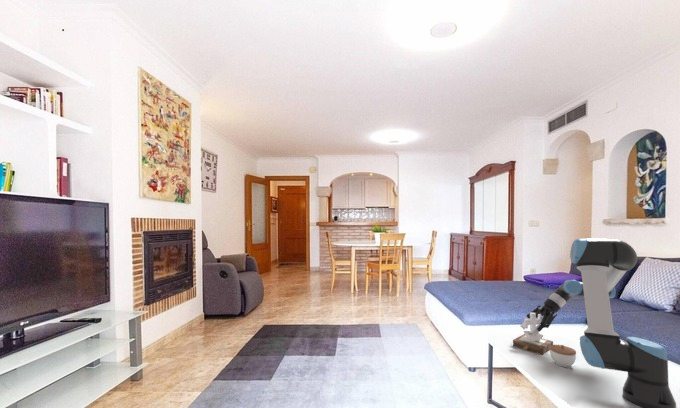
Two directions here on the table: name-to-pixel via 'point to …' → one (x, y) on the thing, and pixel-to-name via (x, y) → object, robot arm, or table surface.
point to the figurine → (532, 327)
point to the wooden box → (532, 344)
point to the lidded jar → (563, 355)
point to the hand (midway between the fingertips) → (527, 330)
